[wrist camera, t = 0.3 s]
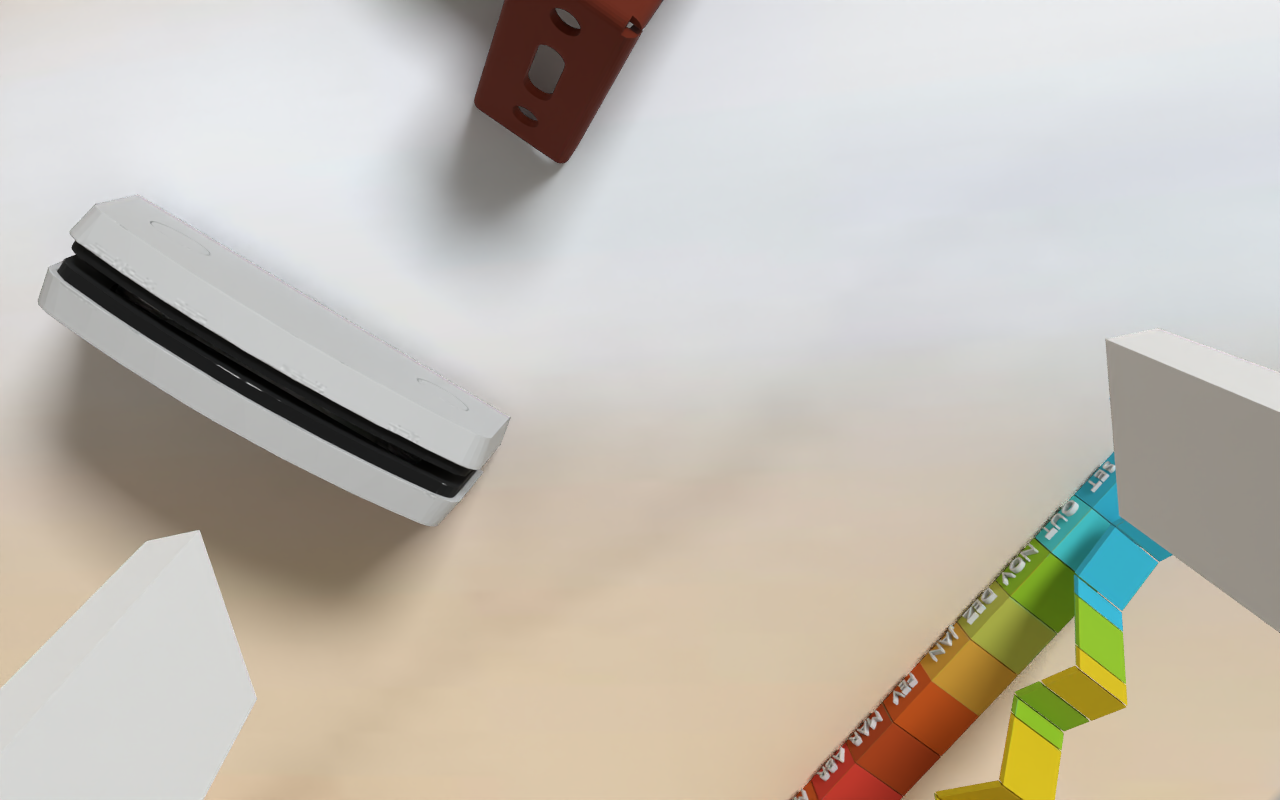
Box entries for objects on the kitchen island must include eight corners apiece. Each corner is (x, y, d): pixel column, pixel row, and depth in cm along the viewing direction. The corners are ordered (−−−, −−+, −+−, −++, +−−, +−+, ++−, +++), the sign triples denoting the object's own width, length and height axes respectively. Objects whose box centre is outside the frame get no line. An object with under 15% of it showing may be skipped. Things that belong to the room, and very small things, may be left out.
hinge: (85, 295, 41) (-48, 318, 31) (146, 191, 41) (31, 182, 31) (455, 508, 44) (442, 589, 34) (515, 413, 44) (518, 468, 34)
